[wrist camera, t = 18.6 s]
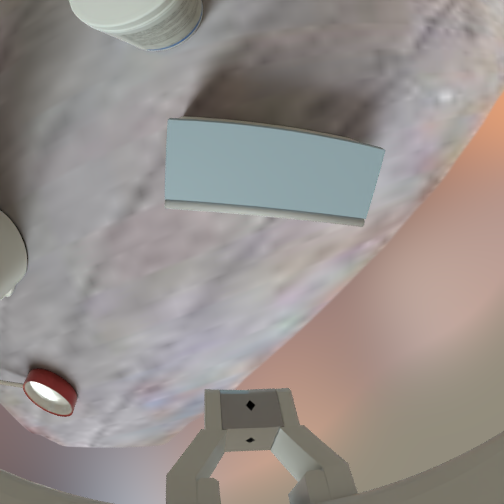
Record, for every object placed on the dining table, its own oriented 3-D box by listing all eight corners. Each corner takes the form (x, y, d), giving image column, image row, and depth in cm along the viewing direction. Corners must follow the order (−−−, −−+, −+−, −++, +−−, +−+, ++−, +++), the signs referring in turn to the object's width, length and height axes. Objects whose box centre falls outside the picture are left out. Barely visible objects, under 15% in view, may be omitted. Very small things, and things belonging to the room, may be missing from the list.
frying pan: (-7, 383, 55) (-15, 400, 50) (-28, 350, 49) (-39, 367, 44) (85, 406, 58) (79, 427, 53) (65, 371, 52) (56, 394, 46)
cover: (166, 205, 29) (164, 210, 28) (170, 118, 25) (168, 119, 24) (359, 223, 32) (362, 228, 31) (380, 147, 27) (385, 150, 26)
